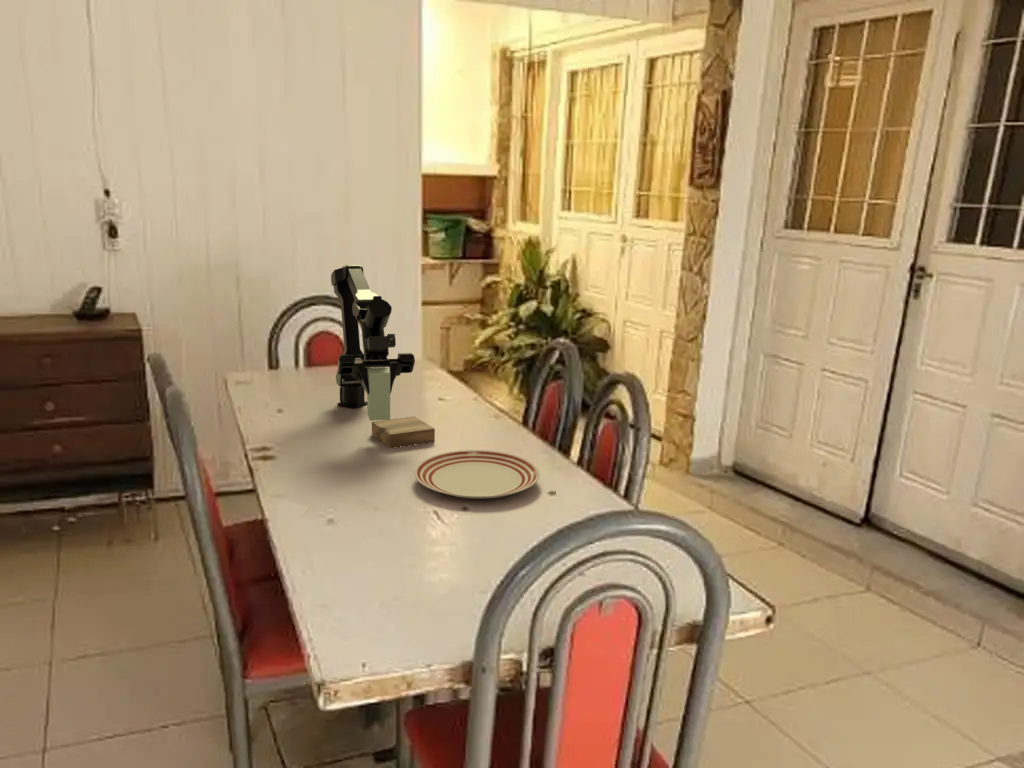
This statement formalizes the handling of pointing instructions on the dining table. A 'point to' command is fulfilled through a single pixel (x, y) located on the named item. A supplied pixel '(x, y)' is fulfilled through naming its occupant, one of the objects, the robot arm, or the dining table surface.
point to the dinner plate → (477, 473)
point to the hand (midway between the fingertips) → (379, 393)
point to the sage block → (378, 394)
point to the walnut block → (403, 431)
